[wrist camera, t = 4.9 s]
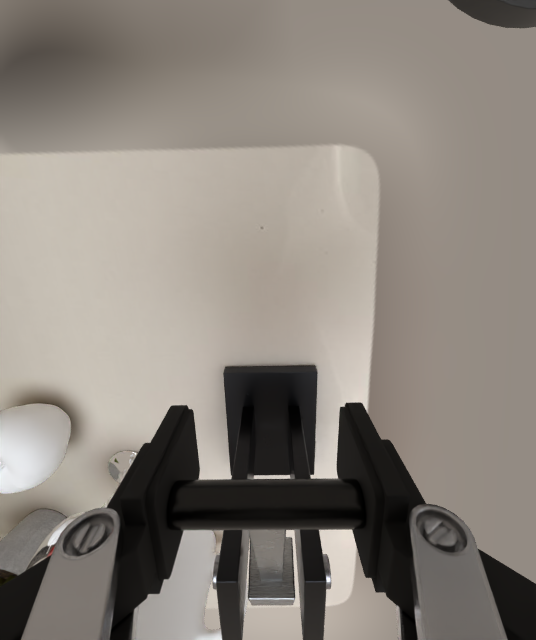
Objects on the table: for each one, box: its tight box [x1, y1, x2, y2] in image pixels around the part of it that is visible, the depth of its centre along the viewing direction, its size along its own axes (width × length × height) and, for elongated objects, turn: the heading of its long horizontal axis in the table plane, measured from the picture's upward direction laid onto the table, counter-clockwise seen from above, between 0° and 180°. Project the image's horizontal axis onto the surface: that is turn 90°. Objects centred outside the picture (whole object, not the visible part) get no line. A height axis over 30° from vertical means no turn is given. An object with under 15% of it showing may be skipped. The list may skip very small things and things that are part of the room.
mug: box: [136, 530, 248, 640], centre depth 28 cm, size 12×8×10 cm, turn 99°
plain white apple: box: [0, 403, 71, 494], centre depth 25 cm, size 7×7×8 cm
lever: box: [167, 478, 366, 605], centre depth 12 cm, size 13×5×2 cm, turn 2°
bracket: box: [213, 366, 331, 640], centre depth 21 cm, size 11×8×15 cm
